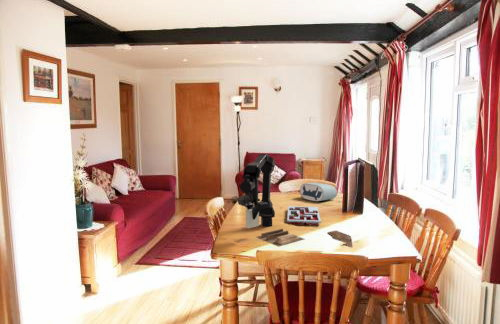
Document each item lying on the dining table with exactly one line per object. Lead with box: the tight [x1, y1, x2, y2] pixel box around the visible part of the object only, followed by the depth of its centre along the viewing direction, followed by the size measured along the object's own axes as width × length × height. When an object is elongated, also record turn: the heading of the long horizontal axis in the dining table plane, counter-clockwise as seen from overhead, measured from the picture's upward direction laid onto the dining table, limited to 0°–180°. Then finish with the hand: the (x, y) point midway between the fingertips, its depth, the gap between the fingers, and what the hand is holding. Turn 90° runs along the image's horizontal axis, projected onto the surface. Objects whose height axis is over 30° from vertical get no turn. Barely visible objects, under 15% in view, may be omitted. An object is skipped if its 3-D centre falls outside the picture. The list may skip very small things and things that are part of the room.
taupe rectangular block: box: [245, 209, 260, 229], centre depth 184 cm, size 2×7×9 cm, turn 127°
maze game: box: [286, 205, 322, 226], centre depth 227 cm, size 35×20×3 cm, turn 173°
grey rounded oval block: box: [299, 182, 338, 202], centre depth 278 cm, size 22×19×13 cm
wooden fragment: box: [327, 229, 353, 248], centre depth 186 cm, size 26×11×1 cm, turn 1°
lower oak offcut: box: [275, 236, 300, 246], centre depth 180 cm, size 5×12×1 cm, turn 127°
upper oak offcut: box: [277, 233, 297, 242], centre depth 180 cm, size 4×10×1 cm, turn 127°
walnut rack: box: [256, 228, 305, 248], centre depth 184 cm, size 18×18×3 cm
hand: (252, 218), depth 184 cm, fingers closed on taupe rectangular block, 2 cm apart
